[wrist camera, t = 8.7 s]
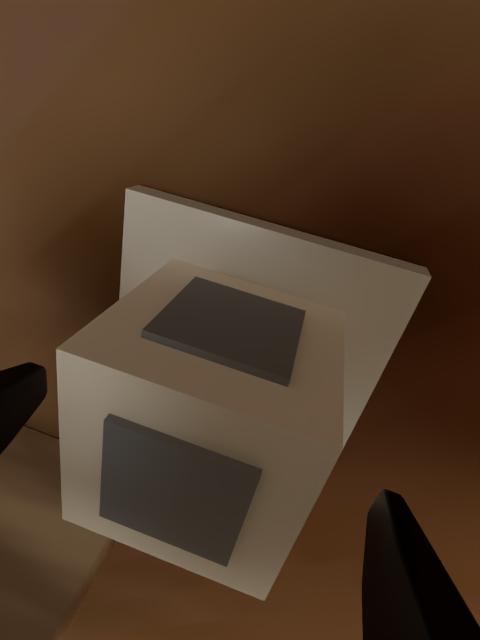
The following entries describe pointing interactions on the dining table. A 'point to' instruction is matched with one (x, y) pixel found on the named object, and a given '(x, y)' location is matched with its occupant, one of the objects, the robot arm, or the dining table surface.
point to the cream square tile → (281, 274)
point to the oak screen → (40, 544)
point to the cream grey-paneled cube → (202, 421)
